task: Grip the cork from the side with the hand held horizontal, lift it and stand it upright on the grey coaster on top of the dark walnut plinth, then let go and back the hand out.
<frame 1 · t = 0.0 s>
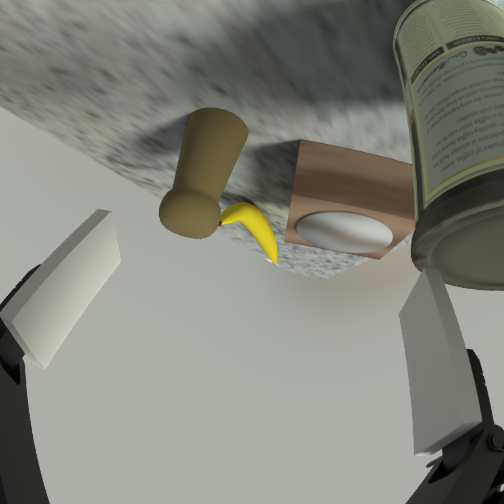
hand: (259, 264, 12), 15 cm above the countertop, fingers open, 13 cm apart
walnut plinth: (349, 183, 32), on the countertop
banana: (259, 211, 45), on the countertop
cork: (218, 127, 28), on the countertop
coffee can: (463, 51, 13), on the countertop
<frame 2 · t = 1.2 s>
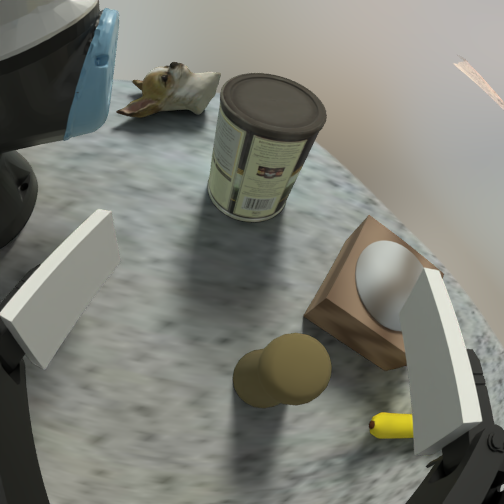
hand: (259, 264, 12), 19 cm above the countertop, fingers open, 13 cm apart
walnut plinth: (366, 303, 34), on the countertop
banana: (405, 426, 28), on the countertop
cork: (263, 378, 28), on the countertop
coffee can: (246, 189, 38), on the countertop
ceramic sculpture: (169, 108, 44), on the countertop
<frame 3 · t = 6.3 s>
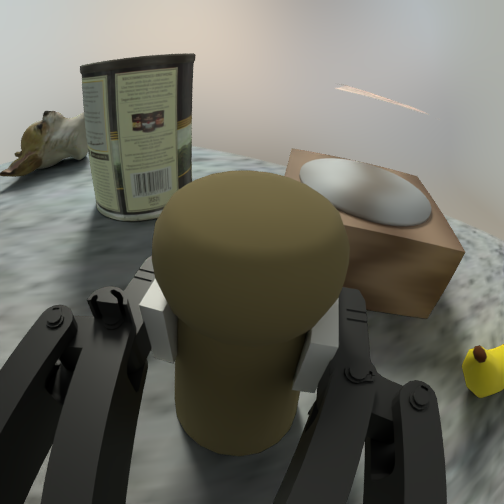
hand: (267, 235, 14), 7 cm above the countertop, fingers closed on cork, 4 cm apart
walnut plinth: (347, 254, 24), on the countertop
banana: (500, 373, 15), on the countertop
cork: (235, 401, 14), on the countertop, touching gripper
coffee can: (143, 197, 30), on the countertop
ceramic sculpture: (52, 166, 37), on the countertop
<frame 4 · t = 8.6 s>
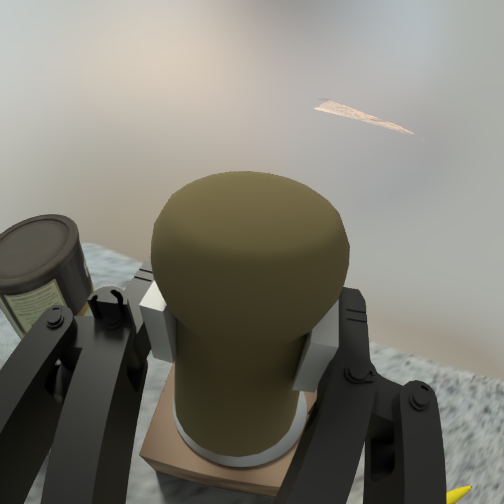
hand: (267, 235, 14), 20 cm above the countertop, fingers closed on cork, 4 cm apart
walnut plinth: (236, 430, 24), on the countertop
cork: (235, 402, 14), point 13 cm above the countertop, touching gripper
coffee can: (73, 345, 29), on the countertop
when the fingers open (14 cm above the countertop, at t = 11.0 s): cork stays where it is, resting on walnut plinth.
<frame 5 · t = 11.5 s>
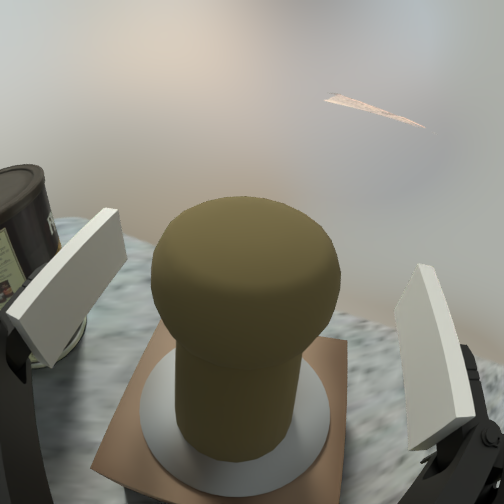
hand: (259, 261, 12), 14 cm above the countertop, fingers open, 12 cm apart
walnut plinth: (232, 439, 18), on the countertop
cork: (233, 410, 14), point 6 cm above the countertop, touching walnut plinth
coffee can: (41, 326, 23), on the countertop
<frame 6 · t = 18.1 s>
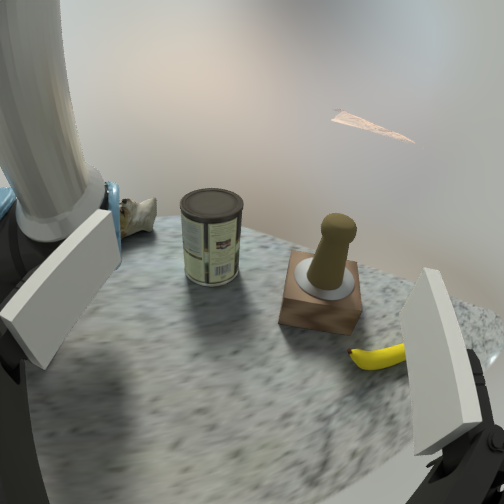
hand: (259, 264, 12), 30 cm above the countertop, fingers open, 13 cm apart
walnut plinth: (316, 303, 52), on the countertop
banana: (386, 363, 43), on the countertop
cork: (324, 278, 48), point 6 cm above the countertop, touching walnut plinth
coffee can: (211, 269, 57), on the countertop
ceramic sculpture: (128, 234, 64), on the countertop
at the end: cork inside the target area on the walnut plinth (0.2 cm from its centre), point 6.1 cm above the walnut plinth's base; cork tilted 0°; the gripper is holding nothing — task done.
